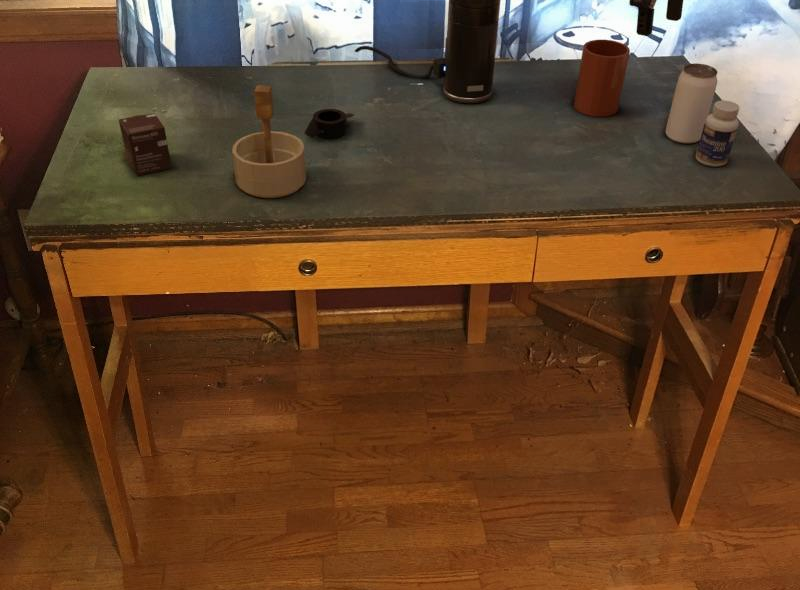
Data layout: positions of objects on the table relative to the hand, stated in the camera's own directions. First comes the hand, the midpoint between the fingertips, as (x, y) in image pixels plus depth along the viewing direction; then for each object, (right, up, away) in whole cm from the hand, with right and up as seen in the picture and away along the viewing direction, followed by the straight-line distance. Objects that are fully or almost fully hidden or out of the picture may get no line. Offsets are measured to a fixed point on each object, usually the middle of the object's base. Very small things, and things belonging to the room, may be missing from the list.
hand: (658, 27), depth 130 cm
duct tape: (-52, -9, +23) cm, 57 cm away
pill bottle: (+14, -15, +18) cm, 28 cm away
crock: (-2, -1, +32) cm, 32 cm away
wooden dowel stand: (-60, -21, +9) cm, 64 cm away
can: (+12, -9, +24) cm, 28 cm away
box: (-81, -17, +13) cm, 84 cm away
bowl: (-60, -21, +10) cm, 64 cm away
